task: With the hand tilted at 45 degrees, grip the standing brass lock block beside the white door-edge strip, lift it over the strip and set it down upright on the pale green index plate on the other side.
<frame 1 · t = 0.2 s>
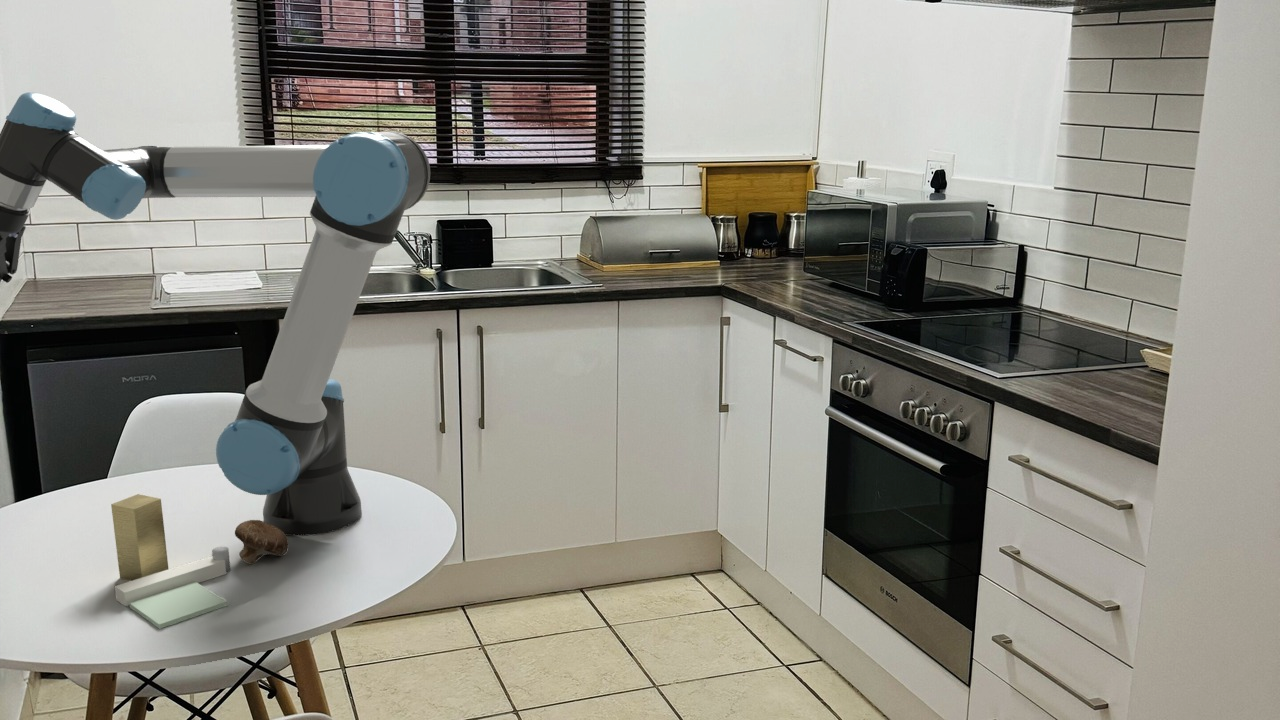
index plate: (178, 606, 145), on the table
lock block: (144, 574, 155), on the table
door edge: (172, 586, 151), on the table
mushroom: (263, 559, 161), on the table
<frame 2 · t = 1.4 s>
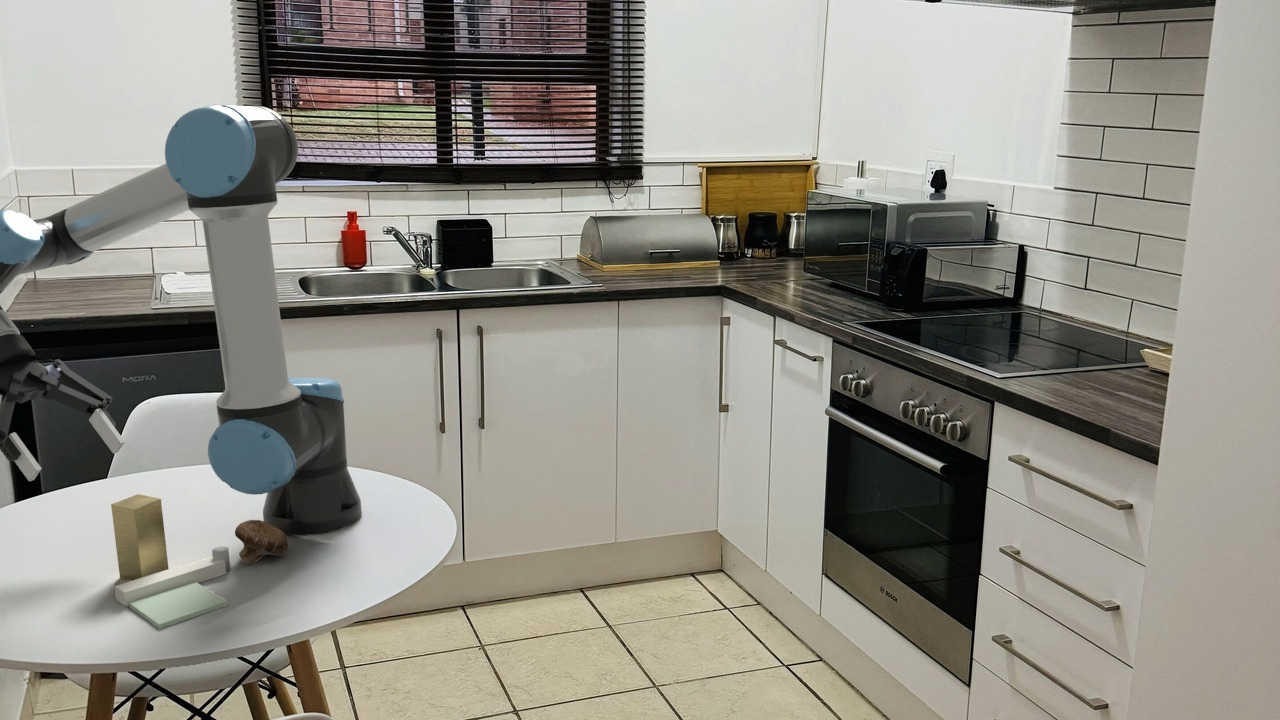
hand: (79, 461, 156), 15 cm above the table, fingers open, 13 cm apart
nothing on the table moved.
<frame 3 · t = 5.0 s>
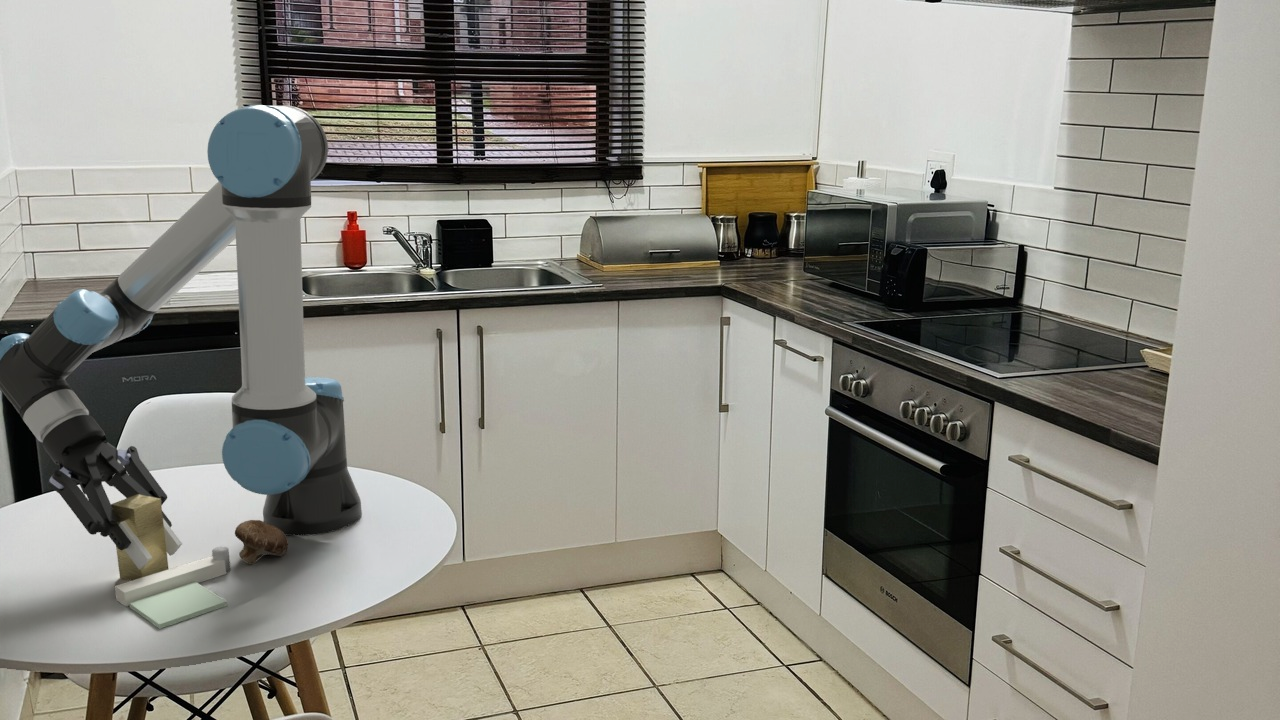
hand: (161, 556, 153), 3 cm above the table, fingers closed on lock block, 4 cm apart
lock block: (144, 574, 155), on the table, touching gripper
everything else where it was.
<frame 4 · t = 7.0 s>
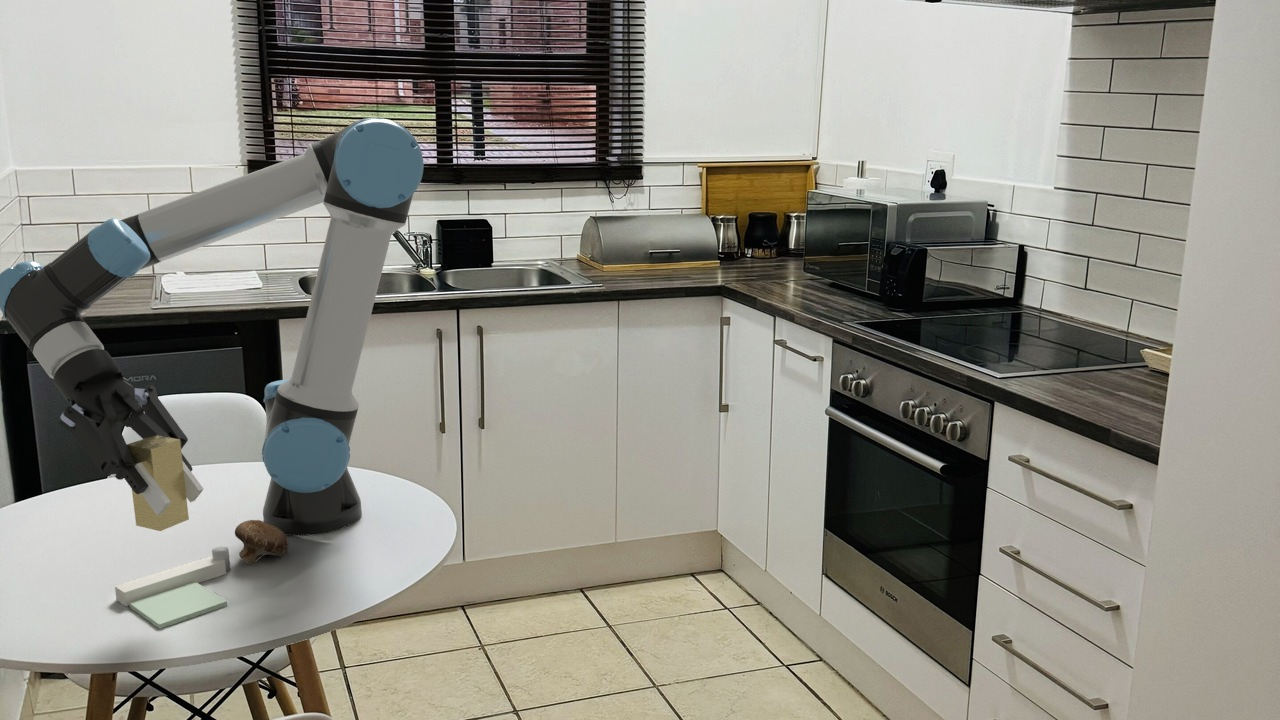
hand: (180, 501, 141), 15 cm above the table, fingers closed on lock block, 4 cm apart
lock block: (162, 522, 143), point 12 cm above the table, touching gripper
everything else where it was.
when the fingers open (5 cm above the table, at t = 9.3 s): lock block stays where it is, resting on index plate.
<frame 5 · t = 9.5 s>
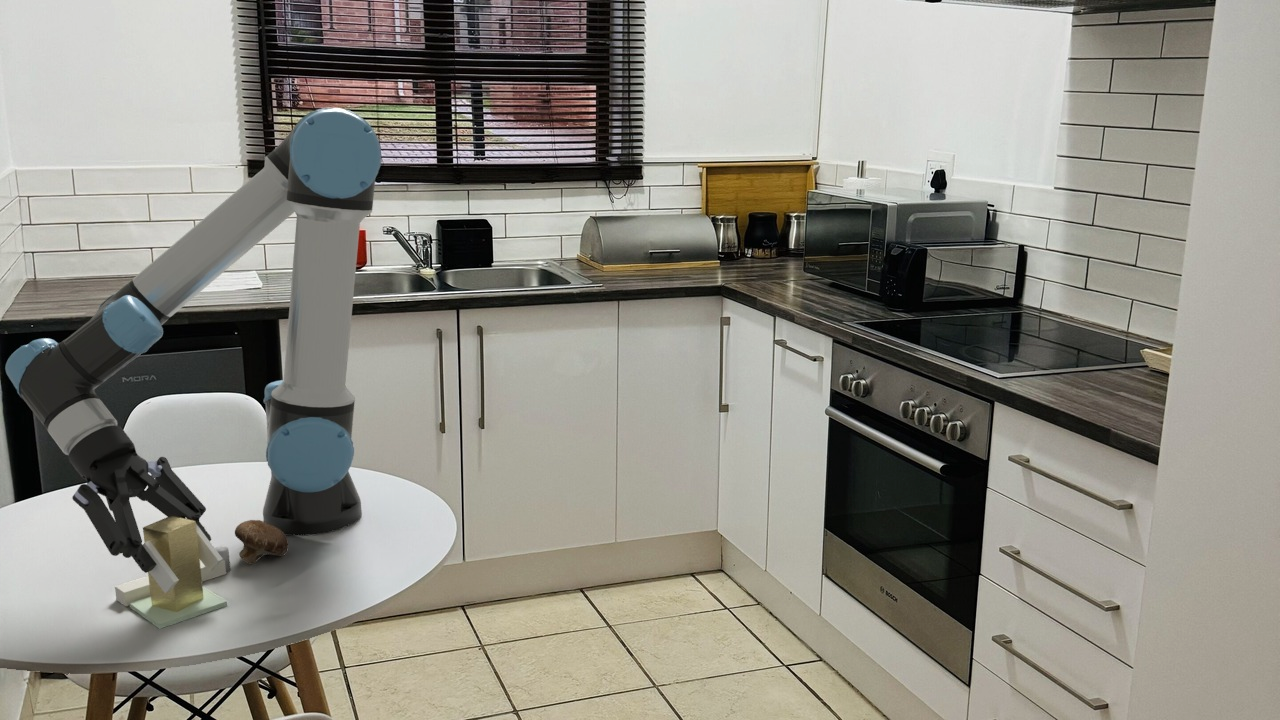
hand: (194, 575, 143), 5 cm above the table, fingers open, 7 cm apart
lock block: (177, 602, 145), point 1 cm above the table, touching index plate
everything else where it was.
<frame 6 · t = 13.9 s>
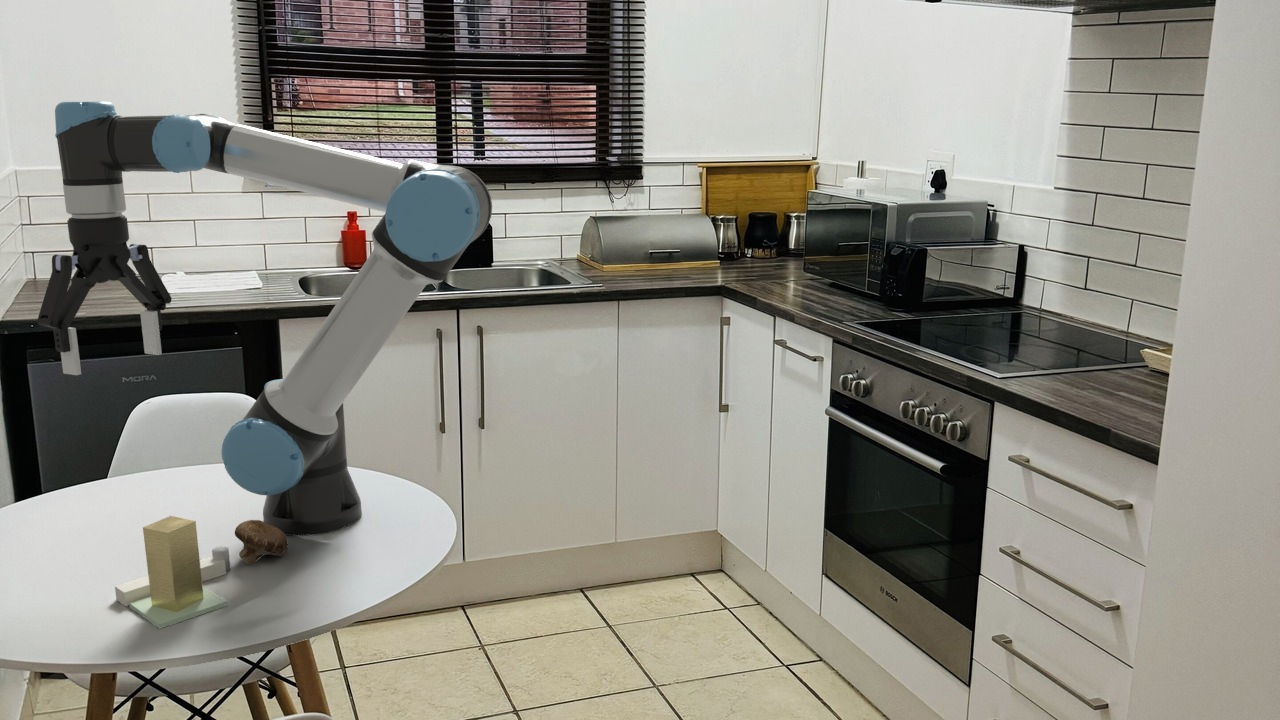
hand: (114, 363, 157), 29 cm above the table, fingers open, 13 cm apart
nothing on the table moved.
at the end: lock block inside the target area on the index plate (0.1 cm from its centre), point 0.6 cm above the index plate's base; lock block tilted 0°; the gripper is holding nothing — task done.
